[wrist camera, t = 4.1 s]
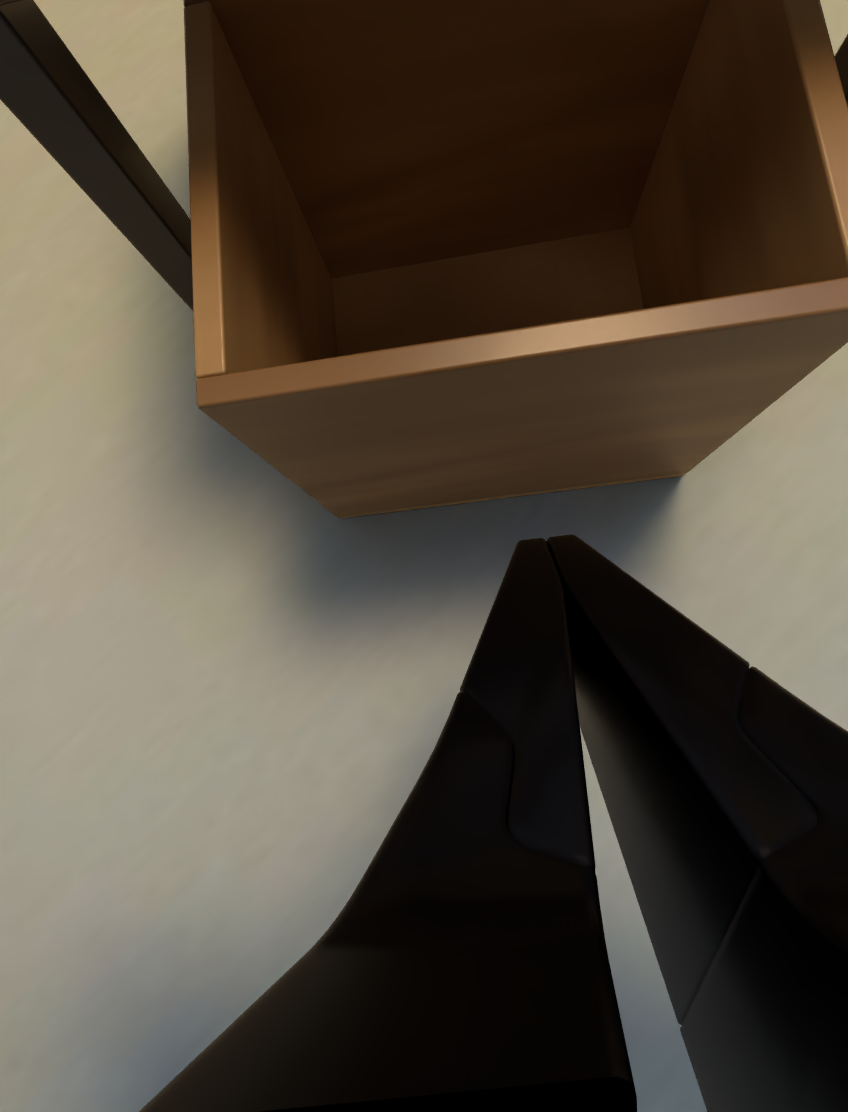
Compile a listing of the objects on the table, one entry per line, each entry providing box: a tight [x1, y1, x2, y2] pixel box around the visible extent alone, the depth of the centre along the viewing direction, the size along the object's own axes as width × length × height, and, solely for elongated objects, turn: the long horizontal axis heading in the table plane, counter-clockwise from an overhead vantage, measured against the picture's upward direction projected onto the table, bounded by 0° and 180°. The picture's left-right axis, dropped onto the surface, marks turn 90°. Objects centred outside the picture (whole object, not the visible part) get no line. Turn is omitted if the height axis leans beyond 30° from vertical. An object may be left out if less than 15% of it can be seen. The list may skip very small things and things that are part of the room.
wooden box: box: [184, 0, 848, 518], centre depth 12 cm, size 8×10×8 cm
